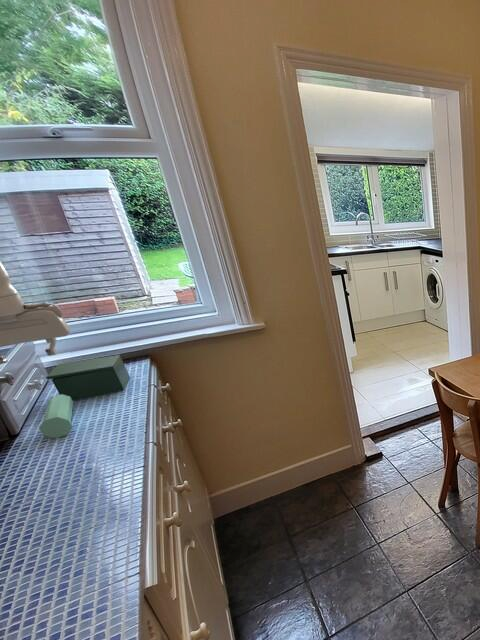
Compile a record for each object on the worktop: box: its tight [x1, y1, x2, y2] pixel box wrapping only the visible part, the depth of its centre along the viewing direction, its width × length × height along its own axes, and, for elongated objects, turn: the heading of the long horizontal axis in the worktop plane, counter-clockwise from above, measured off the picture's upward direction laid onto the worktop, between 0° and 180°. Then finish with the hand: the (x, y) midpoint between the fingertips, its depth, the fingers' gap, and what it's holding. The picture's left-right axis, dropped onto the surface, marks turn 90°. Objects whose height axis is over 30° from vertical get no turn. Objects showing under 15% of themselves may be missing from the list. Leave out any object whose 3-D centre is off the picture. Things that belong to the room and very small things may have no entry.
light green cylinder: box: [38, 394, 74, 439], centre depth 116 cm, size 6×6×25 cm
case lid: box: [45, 354, 121, 380], centre depth 134 cm, size 15×14×1 cm
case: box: [51, 356, 131, 402], centre depth 136 cm, size 15×14×8 cm
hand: (28, 358), depth 110 cm, fingers open, 8 cm apart
